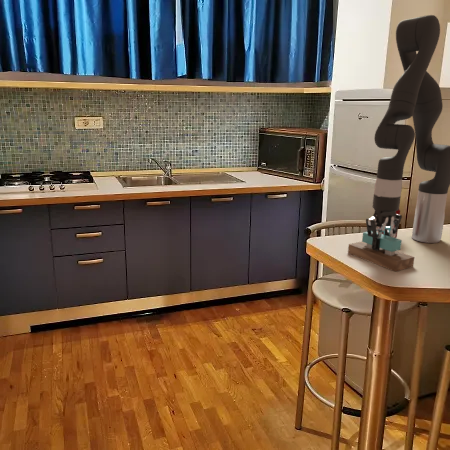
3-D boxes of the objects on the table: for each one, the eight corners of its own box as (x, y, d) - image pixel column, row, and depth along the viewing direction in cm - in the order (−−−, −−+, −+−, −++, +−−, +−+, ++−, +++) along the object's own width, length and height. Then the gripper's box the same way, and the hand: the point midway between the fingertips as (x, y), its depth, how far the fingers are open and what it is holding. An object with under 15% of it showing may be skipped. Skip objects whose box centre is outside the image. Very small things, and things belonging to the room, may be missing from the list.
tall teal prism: (369, 251, 143) (371, 230, 141) (398, 262, 134) (401, 240, 132) (360, 253, 141) (363, 232, 139) (389, 264, 132) (392, 242, 130)
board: (365, 249, 147) (366, 240, 146) (413, 266, 133) (414, 257, 132) (347, 253, 143) (348, 244, 142) (395, 271, 128) (396, 261, 128)
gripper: (392, 189, 139) (385, 242, 144) (360, 193, 131) (354, 248, 136) (413, 193, 133) (405, 248, 137) (381, 198, 125) (374, 256, 130)
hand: (380, 248), depth 137 cm, fingers closed on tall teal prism, 4 cm apart
